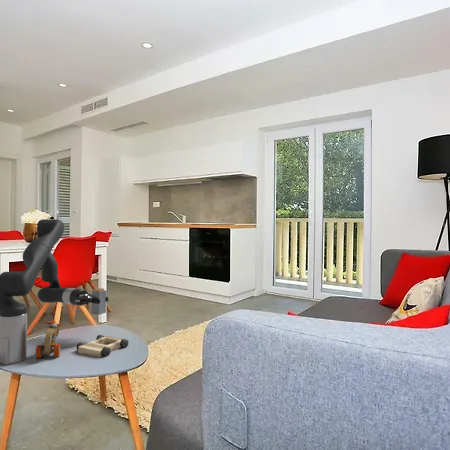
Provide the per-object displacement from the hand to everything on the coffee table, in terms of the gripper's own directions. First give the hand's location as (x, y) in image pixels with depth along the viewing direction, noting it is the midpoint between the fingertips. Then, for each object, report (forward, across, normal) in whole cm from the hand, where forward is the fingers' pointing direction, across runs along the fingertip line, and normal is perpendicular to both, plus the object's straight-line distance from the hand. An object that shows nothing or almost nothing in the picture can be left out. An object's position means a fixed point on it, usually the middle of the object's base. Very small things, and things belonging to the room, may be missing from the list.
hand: (103, 300), depth 158 cm
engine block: (-3, 0, +6) cm, 7 cm away
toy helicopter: (-8, -21, +18) cm, 29 cm away
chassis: (+8, -9, +18) cm, 21 cm away
